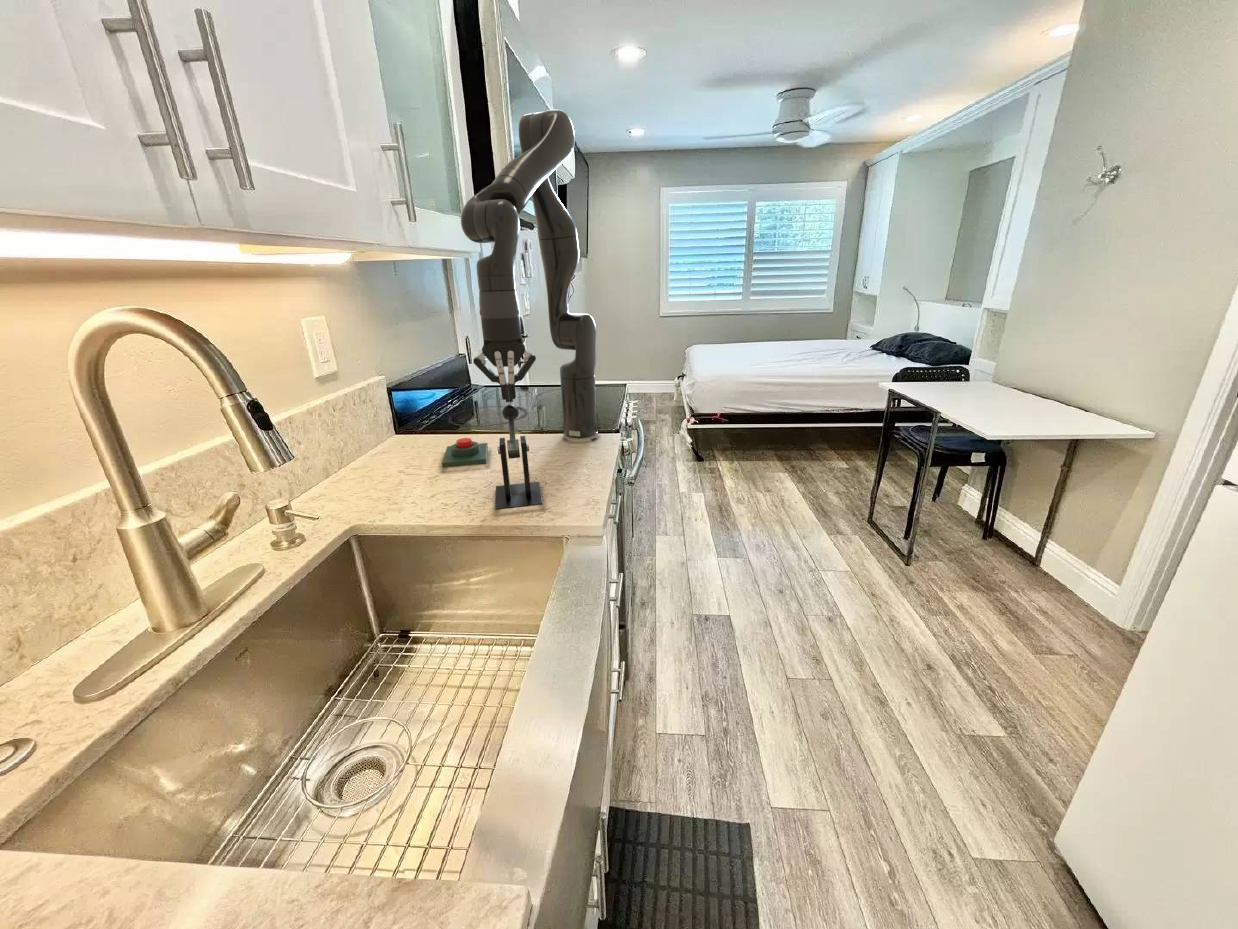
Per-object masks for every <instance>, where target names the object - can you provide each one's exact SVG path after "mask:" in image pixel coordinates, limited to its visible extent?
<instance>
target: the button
mask: <svg viewBox="0 0 1238 929" xmlns="http://www.w3.org/2000/svg"><path fill="white" fill-rule="evenodd" d="M472 441H473V439H472V438H470V437H462V438H459V439H457V440H456V442H455V443H457V448H461V449H462V448H469V447H472Z"/></svg>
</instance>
